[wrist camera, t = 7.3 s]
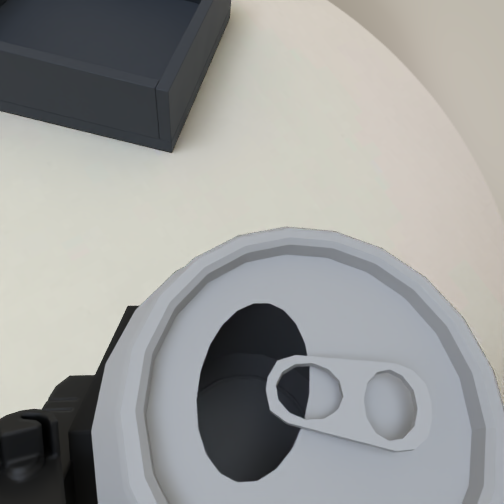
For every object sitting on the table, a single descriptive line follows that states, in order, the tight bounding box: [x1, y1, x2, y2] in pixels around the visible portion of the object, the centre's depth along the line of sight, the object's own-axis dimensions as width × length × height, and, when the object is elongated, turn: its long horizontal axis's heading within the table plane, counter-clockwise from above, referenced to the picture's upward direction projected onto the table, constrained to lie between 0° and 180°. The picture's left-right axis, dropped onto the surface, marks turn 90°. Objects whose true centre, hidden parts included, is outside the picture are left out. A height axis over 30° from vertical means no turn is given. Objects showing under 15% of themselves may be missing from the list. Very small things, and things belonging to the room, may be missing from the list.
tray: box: [0, 0, 231, 152], centre depth 30 cm, size 18×18×5 cm
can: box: [91, 227, 504, 504], centre depth 11 cm, size 8×8×12 cm
